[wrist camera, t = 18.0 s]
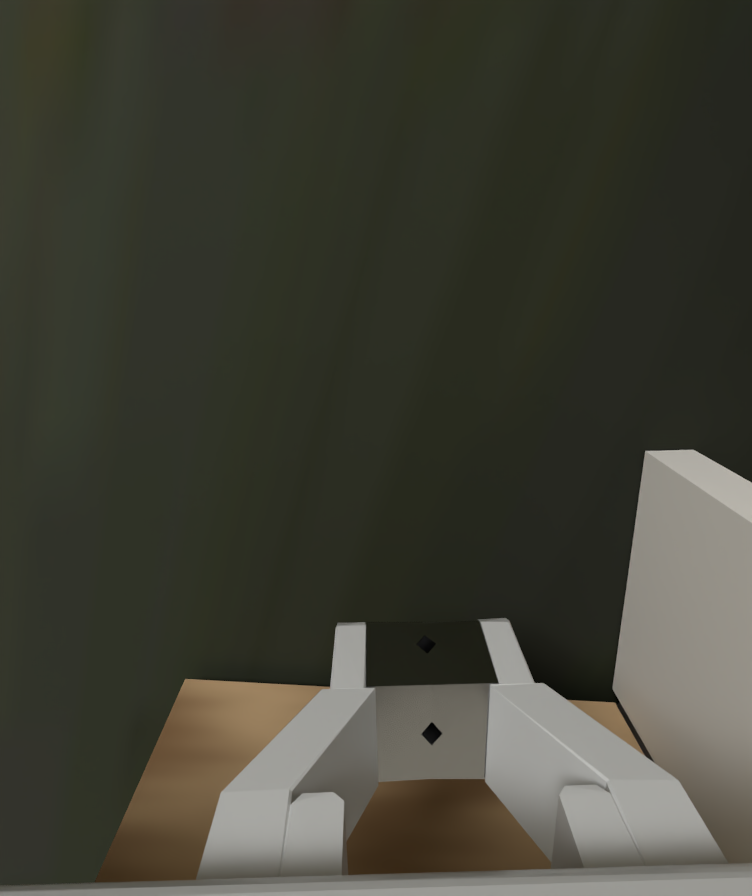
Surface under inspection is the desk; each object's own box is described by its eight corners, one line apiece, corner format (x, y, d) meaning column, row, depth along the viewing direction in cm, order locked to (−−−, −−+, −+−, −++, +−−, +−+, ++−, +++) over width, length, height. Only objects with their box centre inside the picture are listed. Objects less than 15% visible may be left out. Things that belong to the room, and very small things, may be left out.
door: (615, 702, 15) (779, 995, 9) (598, 762, 16) (741, 1072, 10) (185, 678, 15) (55, 970, 9) (187, 741, 16) (69, 1051, 9)
